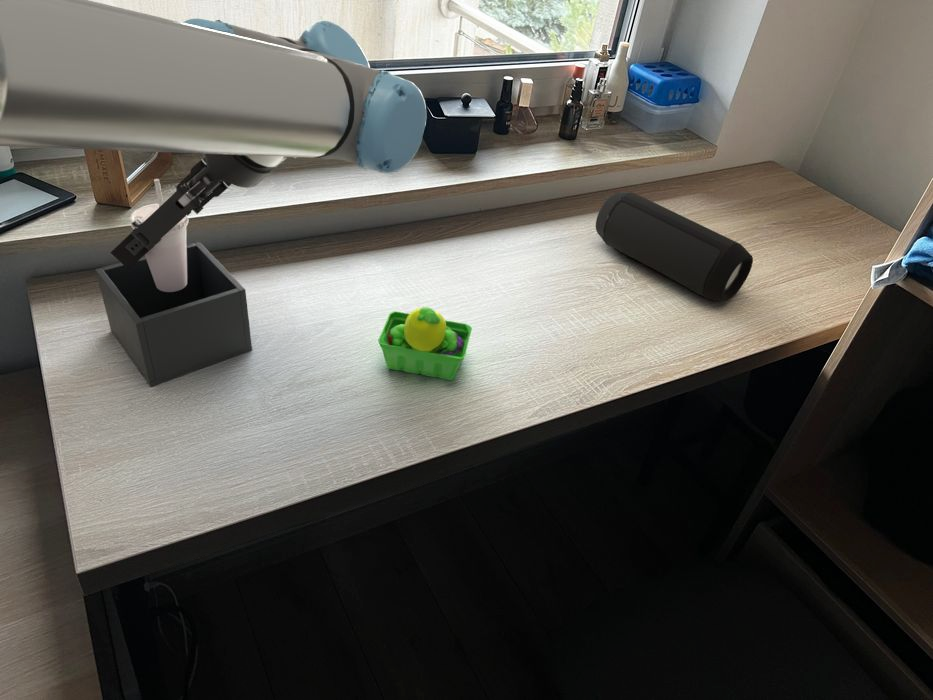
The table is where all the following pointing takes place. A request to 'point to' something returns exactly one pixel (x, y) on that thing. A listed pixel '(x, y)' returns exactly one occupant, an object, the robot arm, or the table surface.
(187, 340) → the bin
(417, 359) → the fruit basket
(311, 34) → the robot arm
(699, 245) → the portable speaker
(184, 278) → the smoothie
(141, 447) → the table surface
